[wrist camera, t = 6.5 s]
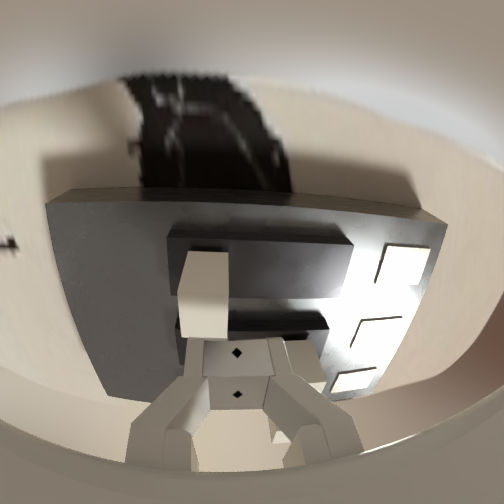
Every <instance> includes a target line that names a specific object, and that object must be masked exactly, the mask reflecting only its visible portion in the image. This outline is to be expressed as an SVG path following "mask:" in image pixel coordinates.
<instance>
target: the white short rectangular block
mask: <svg viewBox="0 0 504 504" xmlns="http://www.w3.org/2000/svg"><path fill="white" fill-rule="evenodd" d="M268 421H269V428H270V434H271V442H272V444H274V443H285V442H291V441H290V440H289V439H288V438H287V437H286V436H285V435H284V433H283V432H282V431H281V430H280V429H279V428H278V427H277V426H276V425H275V423H274V422H273V421H272V420H271V419H270V418H269V417H268Z"/></svg>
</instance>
